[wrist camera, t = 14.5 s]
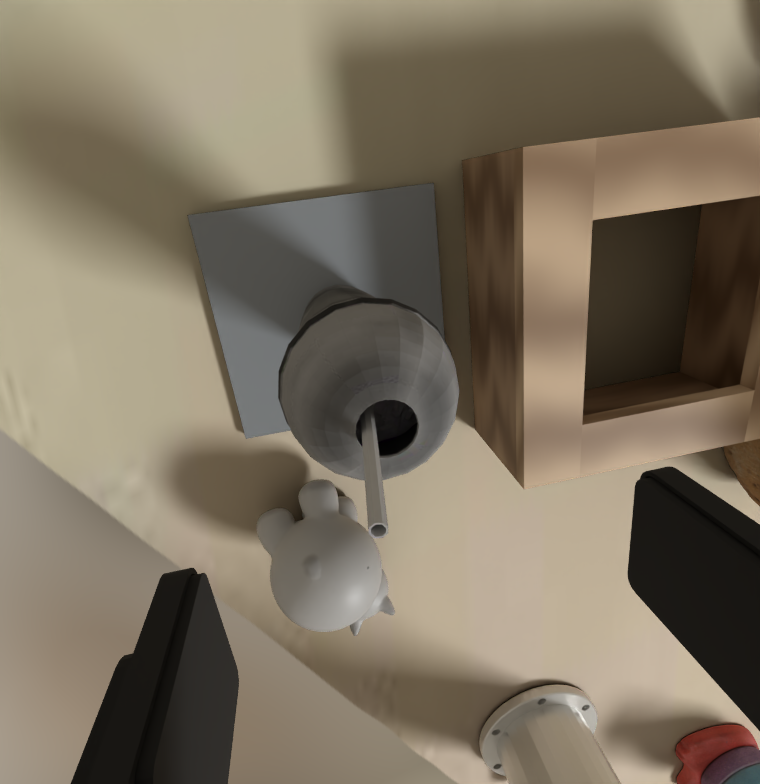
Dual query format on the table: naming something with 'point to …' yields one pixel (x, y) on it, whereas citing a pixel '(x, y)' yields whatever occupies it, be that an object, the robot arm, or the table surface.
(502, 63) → the table surface
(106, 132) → the table surface
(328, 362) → the beverage cup
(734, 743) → the stacking bear
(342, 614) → the chubby cartoon animal
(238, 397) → the mat
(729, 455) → the block
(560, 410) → the box
